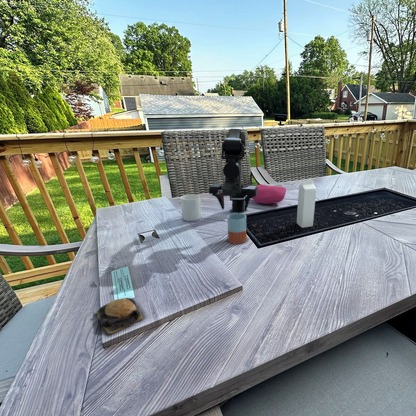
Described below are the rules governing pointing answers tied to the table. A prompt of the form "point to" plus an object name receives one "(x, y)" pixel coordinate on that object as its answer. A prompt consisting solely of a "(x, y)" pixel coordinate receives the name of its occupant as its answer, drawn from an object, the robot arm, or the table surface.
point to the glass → (236, 222)
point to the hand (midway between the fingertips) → (234, 210)
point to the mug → (191, 207)
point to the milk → (306, 203)
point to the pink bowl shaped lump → (269, 194)
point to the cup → (237, 237)
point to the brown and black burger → (118, 315)
